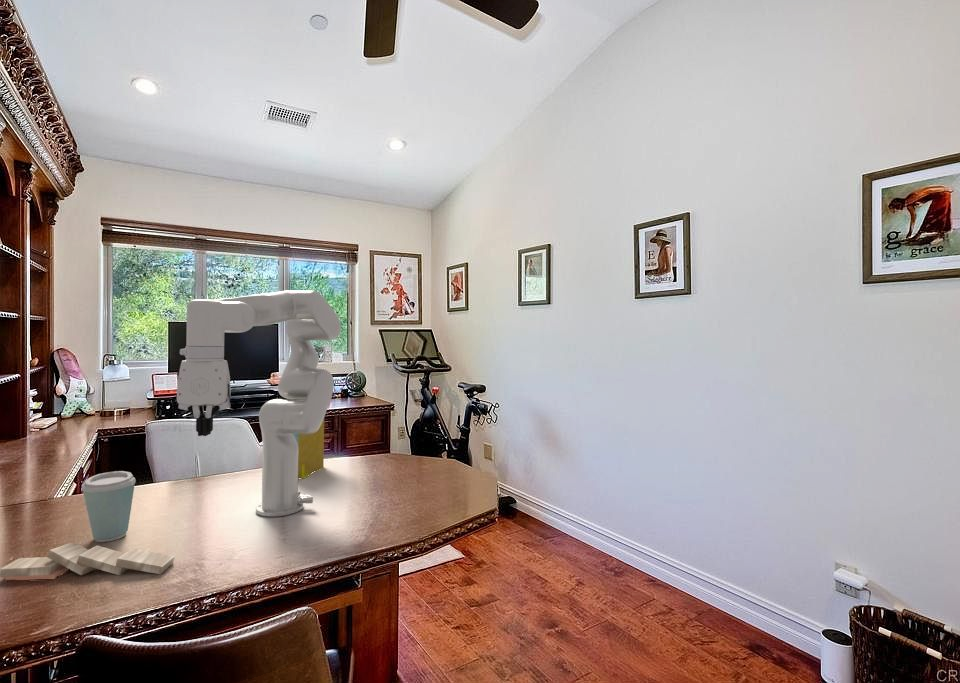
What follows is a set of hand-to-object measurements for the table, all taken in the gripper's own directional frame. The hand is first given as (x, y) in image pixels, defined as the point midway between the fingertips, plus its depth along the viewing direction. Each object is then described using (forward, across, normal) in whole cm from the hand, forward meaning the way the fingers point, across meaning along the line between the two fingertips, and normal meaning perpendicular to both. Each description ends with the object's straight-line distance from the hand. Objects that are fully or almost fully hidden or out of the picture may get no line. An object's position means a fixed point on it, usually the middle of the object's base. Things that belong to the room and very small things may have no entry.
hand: (204, 434), depth 113 cm
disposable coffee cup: (+27, -26, +12) cm, 40 cm away
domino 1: (+26, -26, -6) cm, 37 cm away
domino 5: (+26, -4, -7) cm, 28 cm away
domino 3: (+26, -19, -7) cm, 33 cm away
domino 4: (+26, -12, -6) cm, 30 cm away
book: (+27, +10, +68) cm, 74 cm away
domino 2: (+27, -24, -7) cm, 37 cm away
